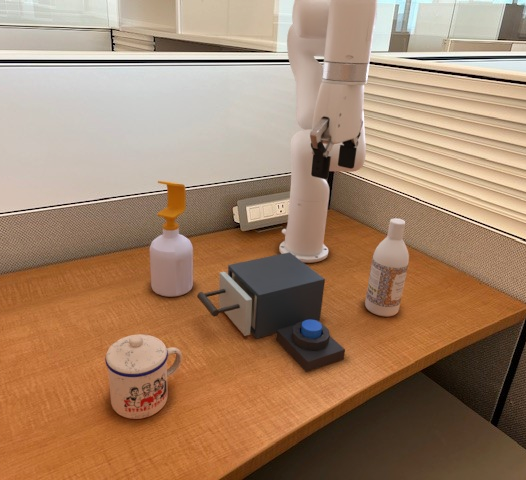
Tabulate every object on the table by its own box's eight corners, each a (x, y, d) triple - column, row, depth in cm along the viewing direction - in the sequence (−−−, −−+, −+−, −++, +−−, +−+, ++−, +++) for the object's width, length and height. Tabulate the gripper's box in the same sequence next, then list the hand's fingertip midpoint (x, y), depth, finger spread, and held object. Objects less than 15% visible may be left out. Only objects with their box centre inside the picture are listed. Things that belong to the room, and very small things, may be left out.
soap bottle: (143, 292, 103) (137, 183, 93) (165, 273, 111) (161, 171, 101) (180, 301, 100) (178, 190, 90) (199, 282, 108) (200, 177, 98)
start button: (297, 330, 87) (297, 322, 86) (313, 325, 88) (314, 317, 87) (308, 341, 84) (309, 333, 83) (325, 336, 85) (326, 328, 85)
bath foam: (382, 321, 97) (400, 230, 88) (357, 305, 102) (371, 218, 93) (405, 311, 100) (424, 223, 92) (379, 296, 105) (395, 211, 97)
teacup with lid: (124, 430, 69) (118, 366, 64) (100, 393, 75) (93, 332, 70) (196, 397, 75) (196, 336, 70) (168, 365, 82) (166, 308, 77)
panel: (276, 339, 90) (277, 321, 88) (311, 329, 93) (313, 311, 92) (306, 372, 82) (308, 353, 80) (343, 359, 85) (346, 341, 84)
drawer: (216, 344, 86) (217, 307, 83) (192, 312, 95) (192, 277, 92) (304, 319, 95) (308, 285, 91) (275, 291, 104) (277, 259, 100)
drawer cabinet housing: (256, 339, 90) (259, 295, 86) (226, 305, 100) (228, 264, 96) (319, 320, 96) (325, 278, 92) (286, 290, 106) (289, 252, 102)
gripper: (348, 70, 89) (337, 160, 96) (298, 74, 77) (289, 177, 84) (386, 73, 85) (372, 167, 92) (340, 78, 73) (327, 186, 79)
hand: (333, 172), depth 88 cm, fingers open, 9 cm apart
